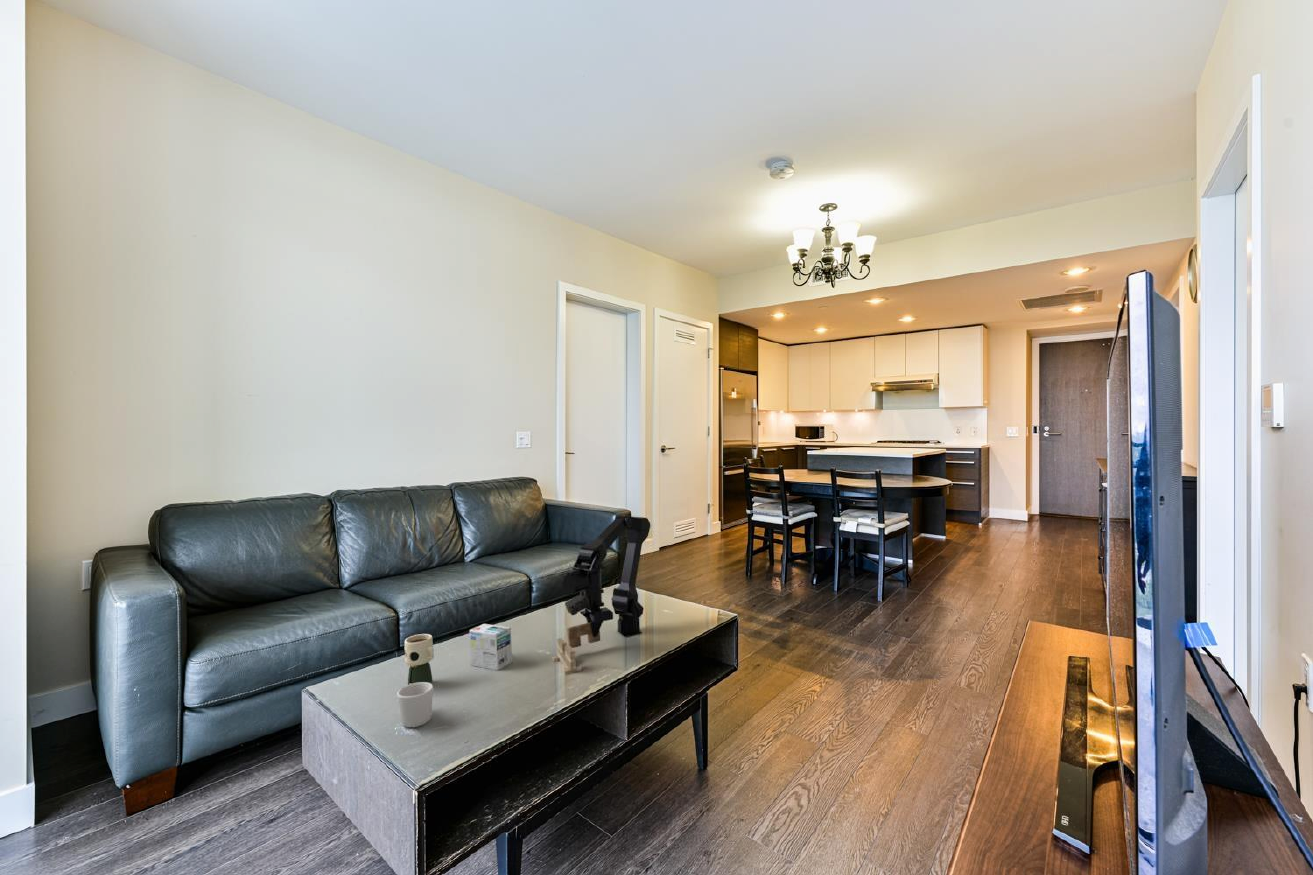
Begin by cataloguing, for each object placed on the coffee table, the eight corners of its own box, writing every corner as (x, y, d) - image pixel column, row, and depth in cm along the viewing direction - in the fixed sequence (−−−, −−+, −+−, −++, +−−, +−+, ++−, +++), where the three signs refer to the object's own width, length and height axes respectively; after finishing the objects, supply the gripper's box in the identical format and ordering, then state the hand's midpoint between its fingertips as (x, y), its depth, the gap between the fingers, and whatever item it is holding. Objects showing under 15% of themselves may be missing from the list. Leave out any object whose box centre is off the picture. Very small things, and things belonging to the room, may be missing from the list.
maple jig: (568, 656, 169) (567, 636, 169) (581, 670, 158) (580, 649, 158) (552, 659, 166) (551, 639, 166) (564, 674, 156) (564, 653, 156)
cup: (409, 709, 138) (408, 677, 138) (442, 707, 139) (441, 675, 139) (392, 732, 128) (391, 698, 128) (428, 729, 128) (426, 695, 128)
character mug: (395, 687, 151) (393, 640, 151) (417, 676, 158) (415, 631, 158) (423, 694, 146) (421, 645, 146) (444, 683, 153) (443, 636, 153)
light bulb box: (513, 662, 166) (511, 626, 166) (497, 671, 160) (496, 634, 160) (485, 657, 170) (484, 622, 170) (469, 665, 164) (468, 629, 164)
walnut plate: (598, 639, 174) (597, 620, 174) (600, 640, 173) (599, 621, 173) (568, 647, 170) (567, 627, 169) (570, 648, 168) (568, 629, 168)
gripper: (558, 583, 177) (559, 632, 177) (577, 597, 161) (579, 651, 161) (590, 578, 182) (592, 625, 182) (613, 591, 166) (614, 643, 166)
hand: (593, 635), depth 173 cm, fingers closed on walnut plate, 1 cm apart
